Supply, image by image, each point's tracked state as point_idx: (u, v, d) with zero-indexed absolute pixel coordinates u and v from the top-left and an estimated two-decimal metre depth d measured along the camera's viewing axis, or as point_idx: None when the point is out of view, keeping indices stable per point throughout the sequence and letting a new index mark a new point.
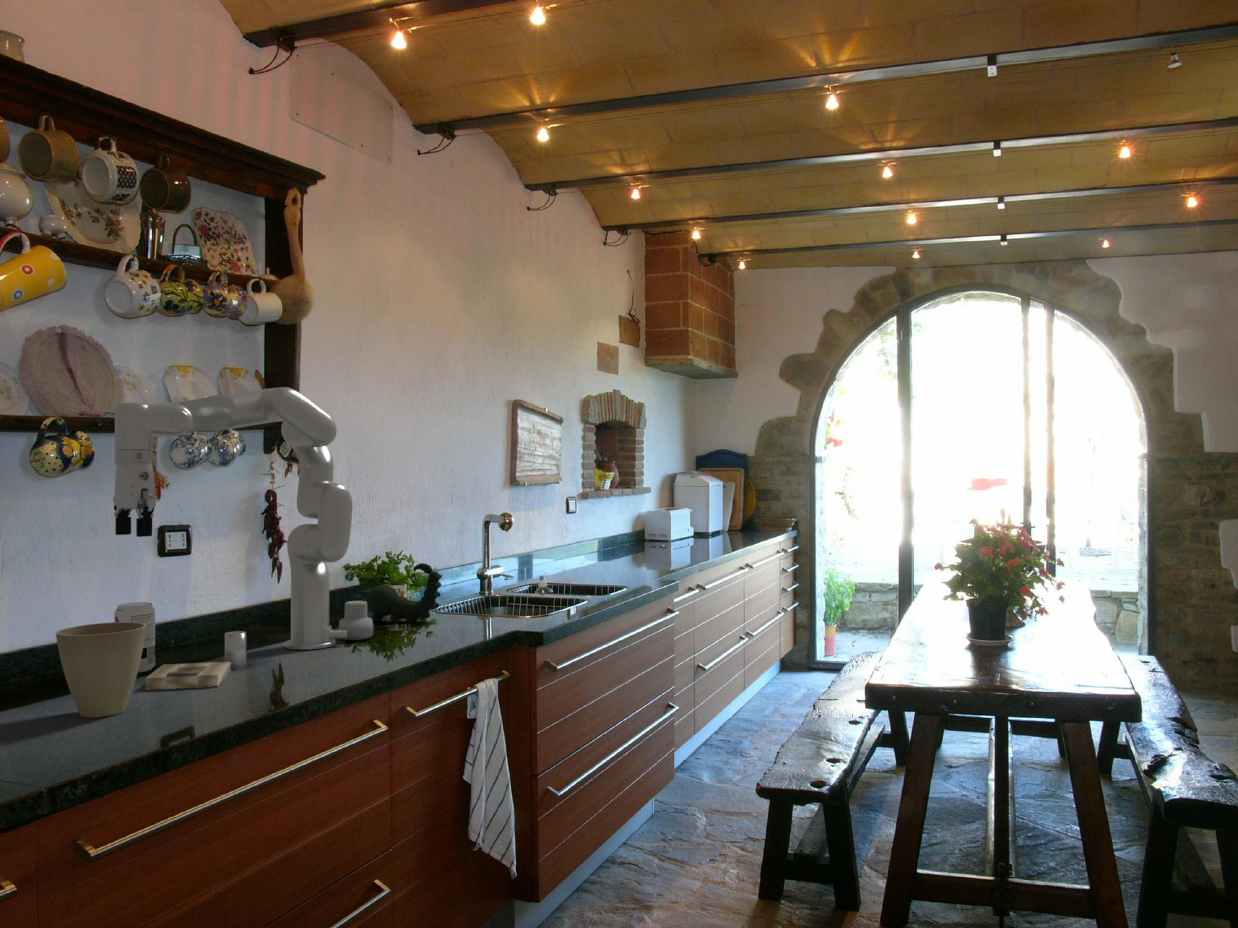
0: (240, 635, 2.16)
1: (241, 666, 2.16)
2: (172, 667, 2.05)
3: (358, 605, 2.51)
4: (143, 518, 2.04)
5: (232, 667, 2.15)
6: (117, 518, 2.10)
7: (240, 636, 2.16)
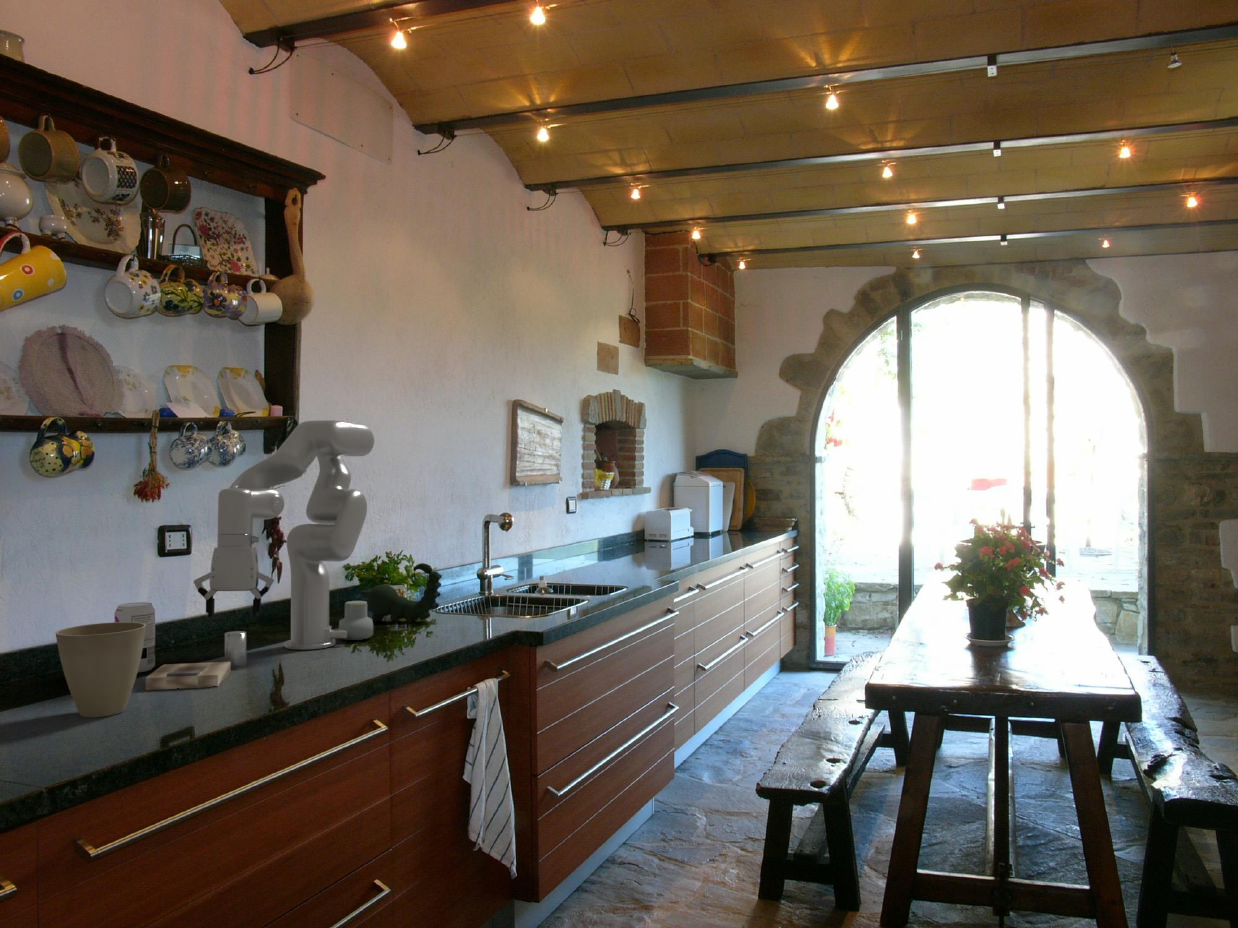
0: (240, 635, 2.16)
1: (241, 666, 2.16)
2: (172, 667, 2.05)
3: (358, 605, 2.51)
4: (260, 598, 2.17)
5: (232, 667, 2.15)
6: (211, 600, 2.14)
7: (240, 636, 2.16)
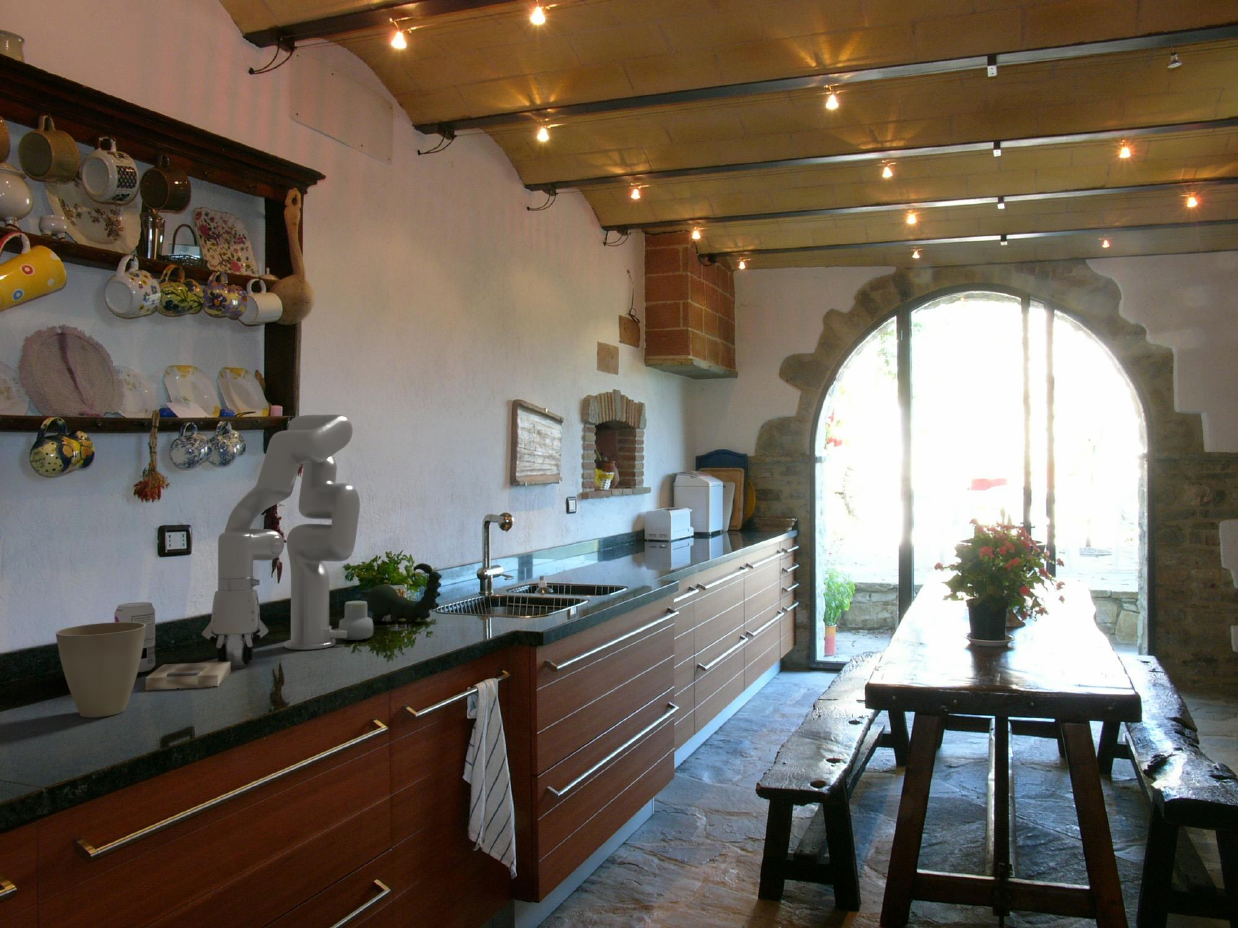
0: (240, 635, 2.16)
1: (241, 666, 2.16)
2: (172, 667, 2.05)
3: (358, 605, 2.51)
4: (251, 646, 2.17)
5: (232, 667, 2.15)
6: (223, 649, 2.15)
7: (240, 636, 2.16)
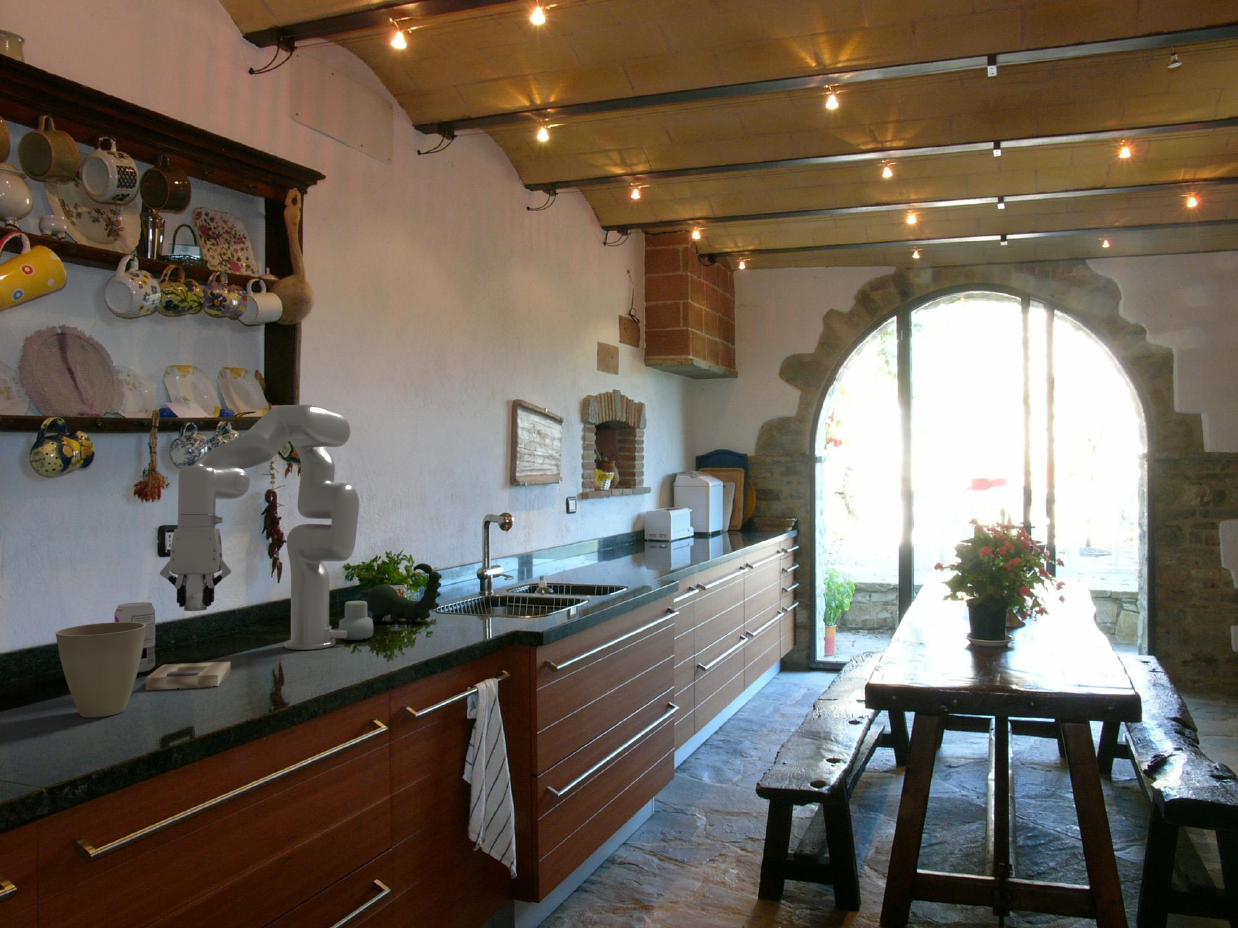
0: (200, 575, 2.03)
1: (201, 608, 2.03)
2: (172, 667, 2.05)
3: (358, 605, 2.51)
4: (213, 587, 2.05)
5: (191, 608, 2.02)
6: (182, 589, 2.03)
7: (201, 576, 2.03)
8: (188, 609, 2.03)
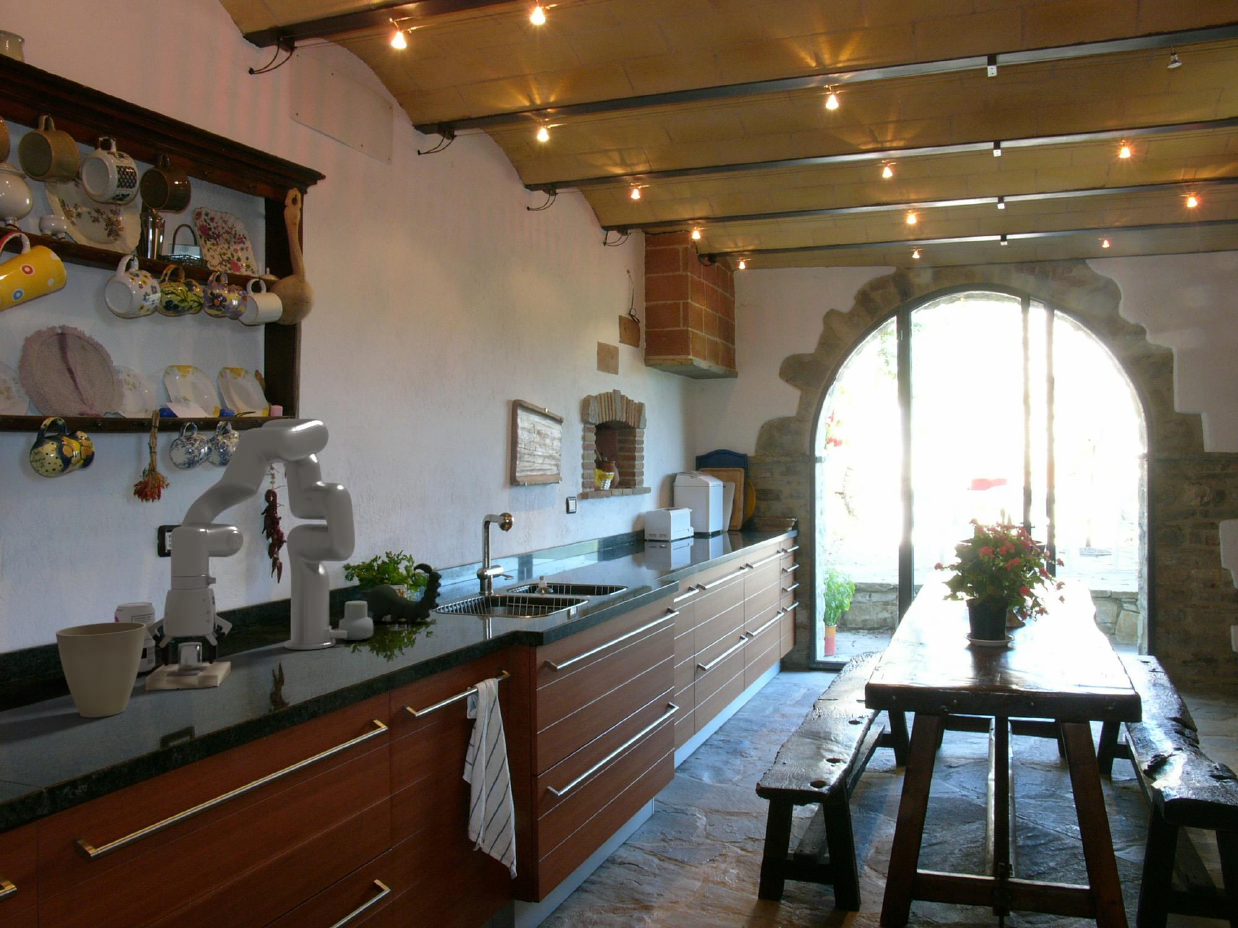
0: (195, 647, 2.02)
1: None
2: (172, 667, 2.05)
3: (358, 605, 2.51)
4: (216, 644, 2.04)
5: None
6: (167, 648, 2.01)
7: (195, 648, 2.02)
8: None
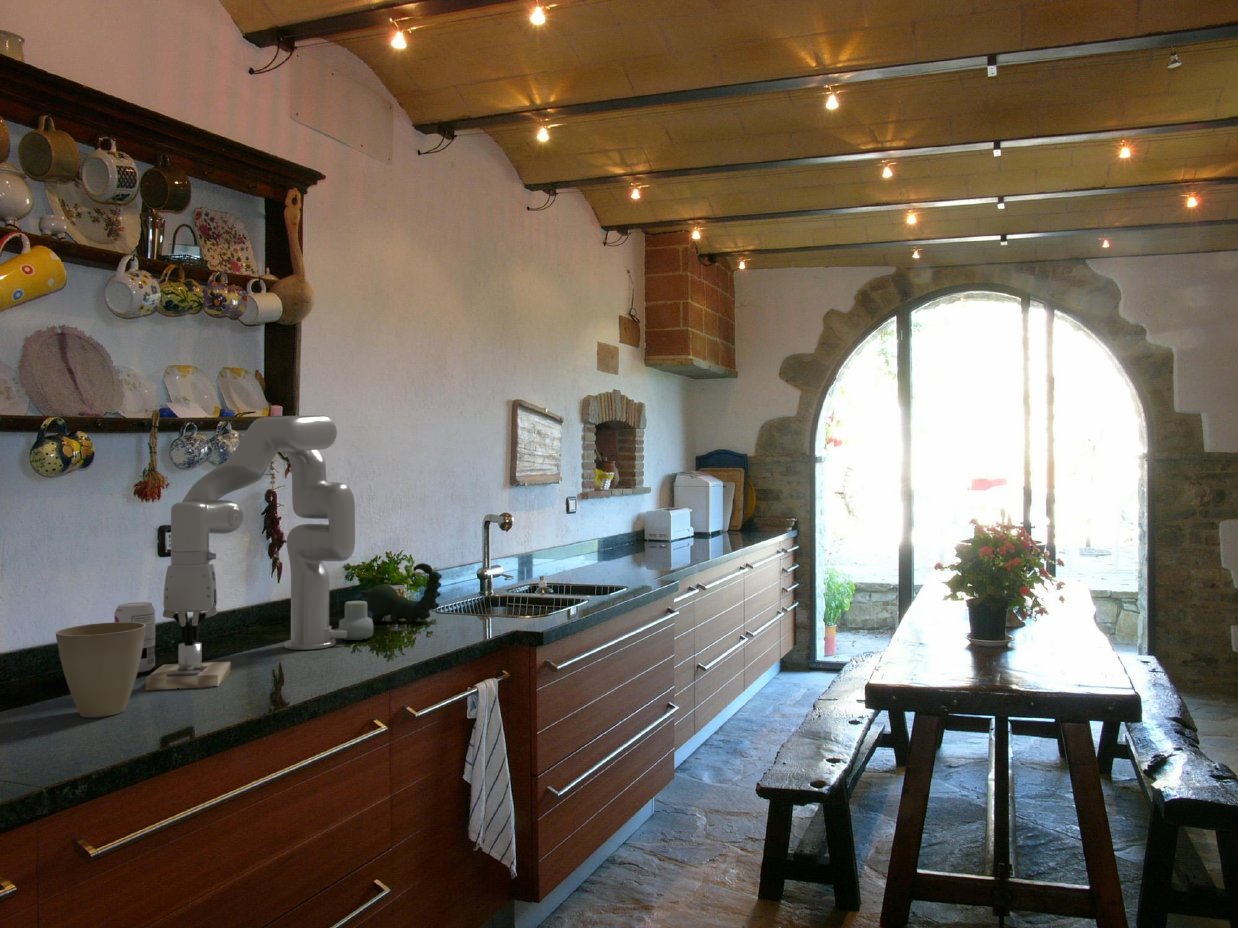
0: (195, 647, 2.02)
1: None
2: (172, 667, 2.05)
3: (358, 605, 2.51)
4: (196, 625, 2.03)
5: None
6: (187, 627, 2.02)
7: (195, 648, 2.02)
8: None
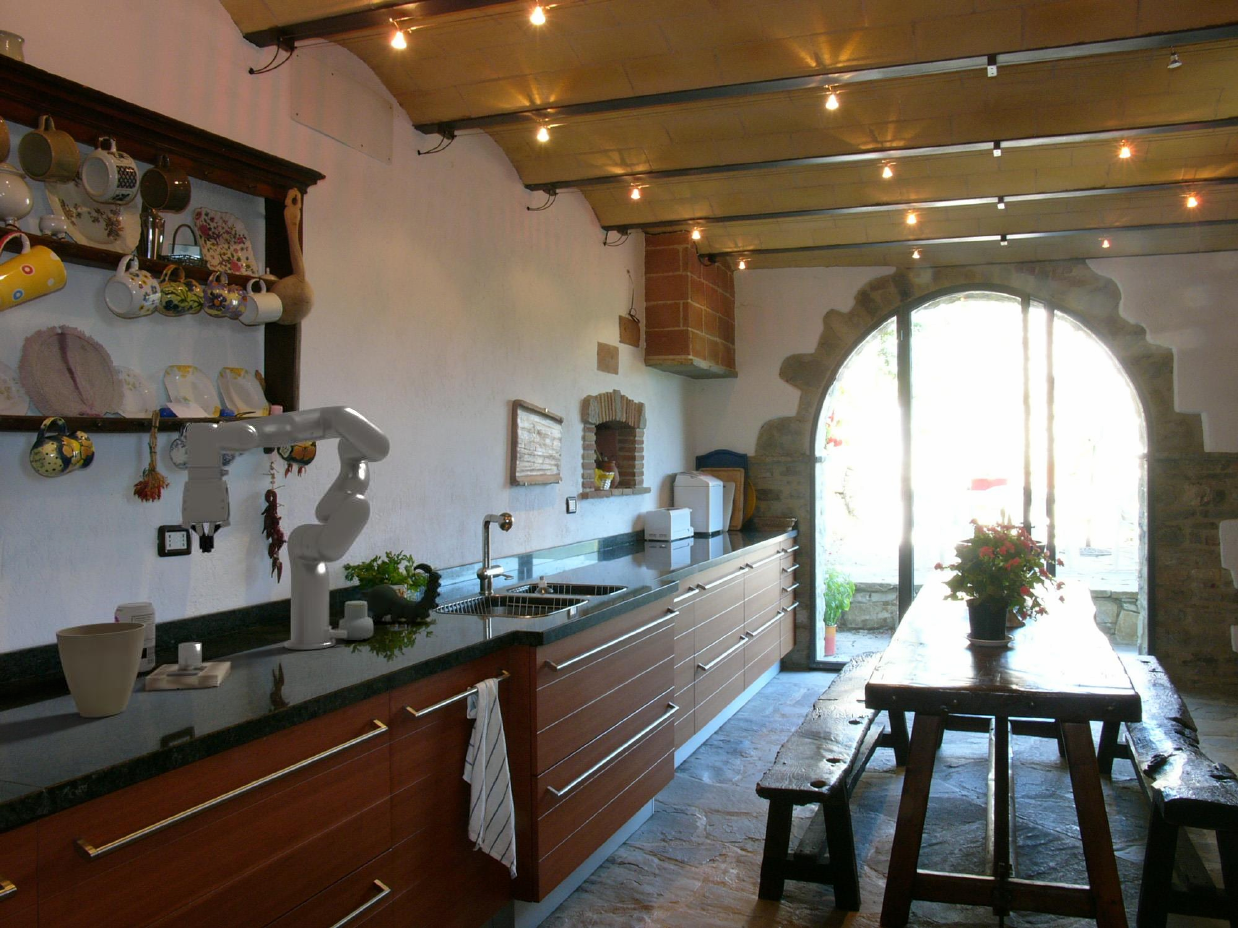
0: (195, 647, 2.02)
1: None
2: (172, 667, 2.05)
3: (358, 605, 2.51)
4: (212, 535, 2.22)
5: None
6: (204, 537, 2.21)
7: (195, 648, 2.02)
8: None
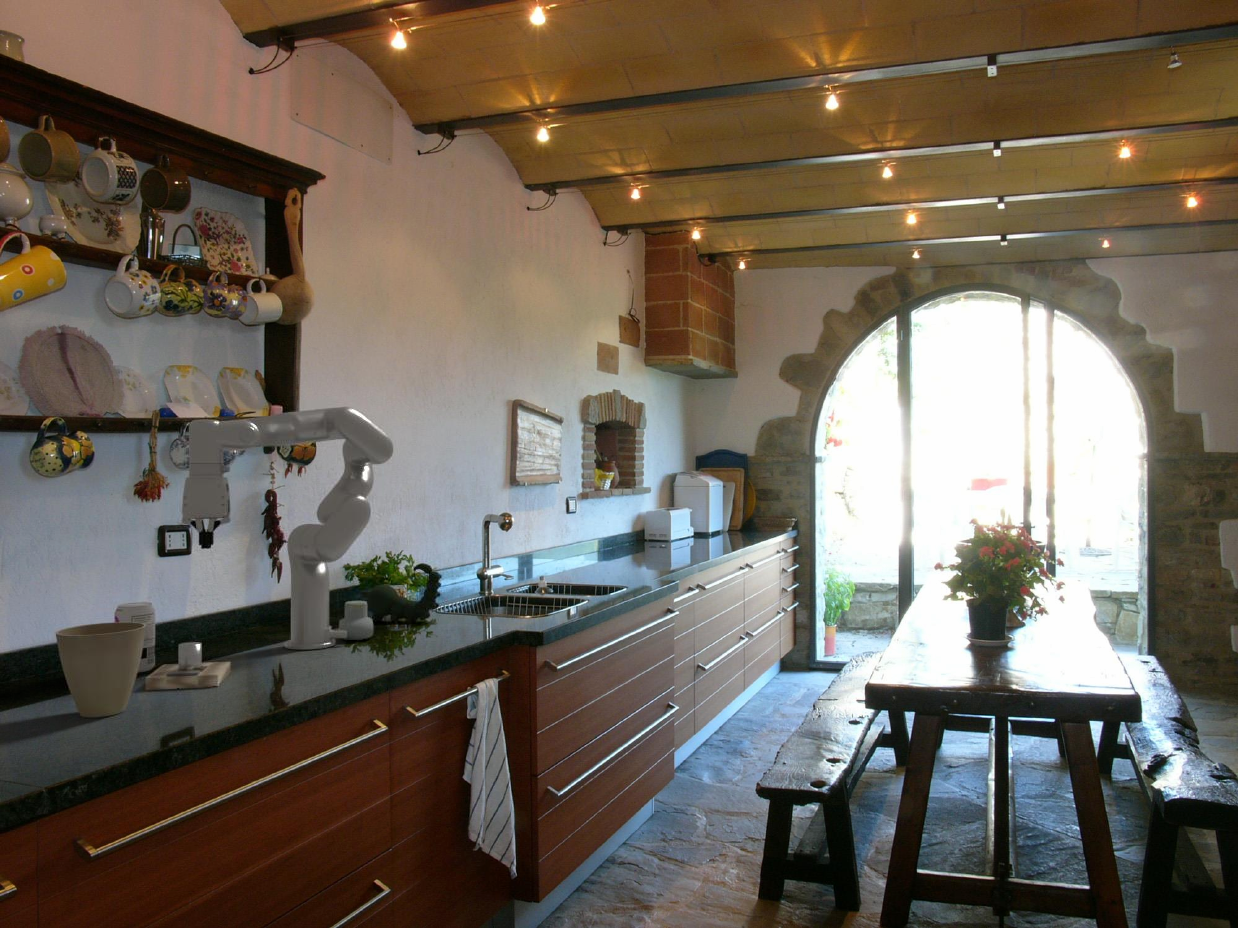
0: (195, 647, 2.02)
1: None
2: (172, 667, 2.05)
3: (358, 605, 2.51)
4: (212, 531, 2.23)
5: None
6: (203, 533, 2.22)
7: (195, 648, 2.02)
8: None
